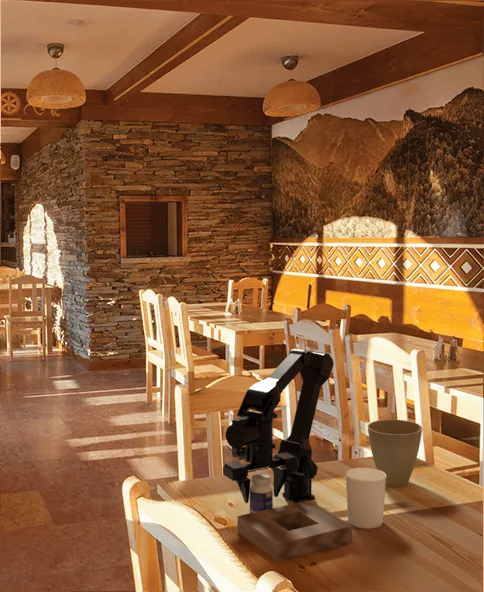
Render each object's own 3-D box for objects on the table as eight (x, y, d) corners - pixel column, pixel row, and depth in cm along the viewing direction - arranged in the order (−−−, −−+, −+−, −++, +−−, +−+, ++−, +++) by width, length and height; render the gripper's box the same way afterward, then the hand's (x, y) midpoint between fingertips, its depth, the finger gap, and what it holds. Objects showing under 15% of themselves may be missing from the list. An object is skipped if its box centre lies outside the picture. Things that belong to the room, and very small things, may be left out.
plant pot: (381, 469, 228) (381, 416, 226) (429, 480, 220) (430, 424, 218) (357, 484, 216) (357, 428, 214) (407, 495, 208) (408, 437, 206)
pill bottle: (270, 521, 192) (270, 481, 190) (247, 519, 193) (247, 480, 192) (274, 512, 197) (274, 473, 196) (252, 510, 198) (251, 472, 197)
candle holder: (388, 516, 194) (389, 469, 192) (382, 532, 184) (383, 483, 183) (349, 512, 197) (349, 465, 196) (341, 527, 188) (341, 478, 186)
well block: (308, 515, 195) (308, 500, 194) (352, 542, 179) (352, 525, 178) (237, 532, 185) (237, 516, 184) (277, 562, 169) (277, 544, 169)
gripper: (276, 425, 204) (276, 483, 206) (212, 435, 195) (212, 496, 197) (299, 436, 195) (299, 496, 196) (233, 447, 186) (234, 511, 187)
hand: (261, 499), depth 195 cm, fingers open, 8 cm apart
